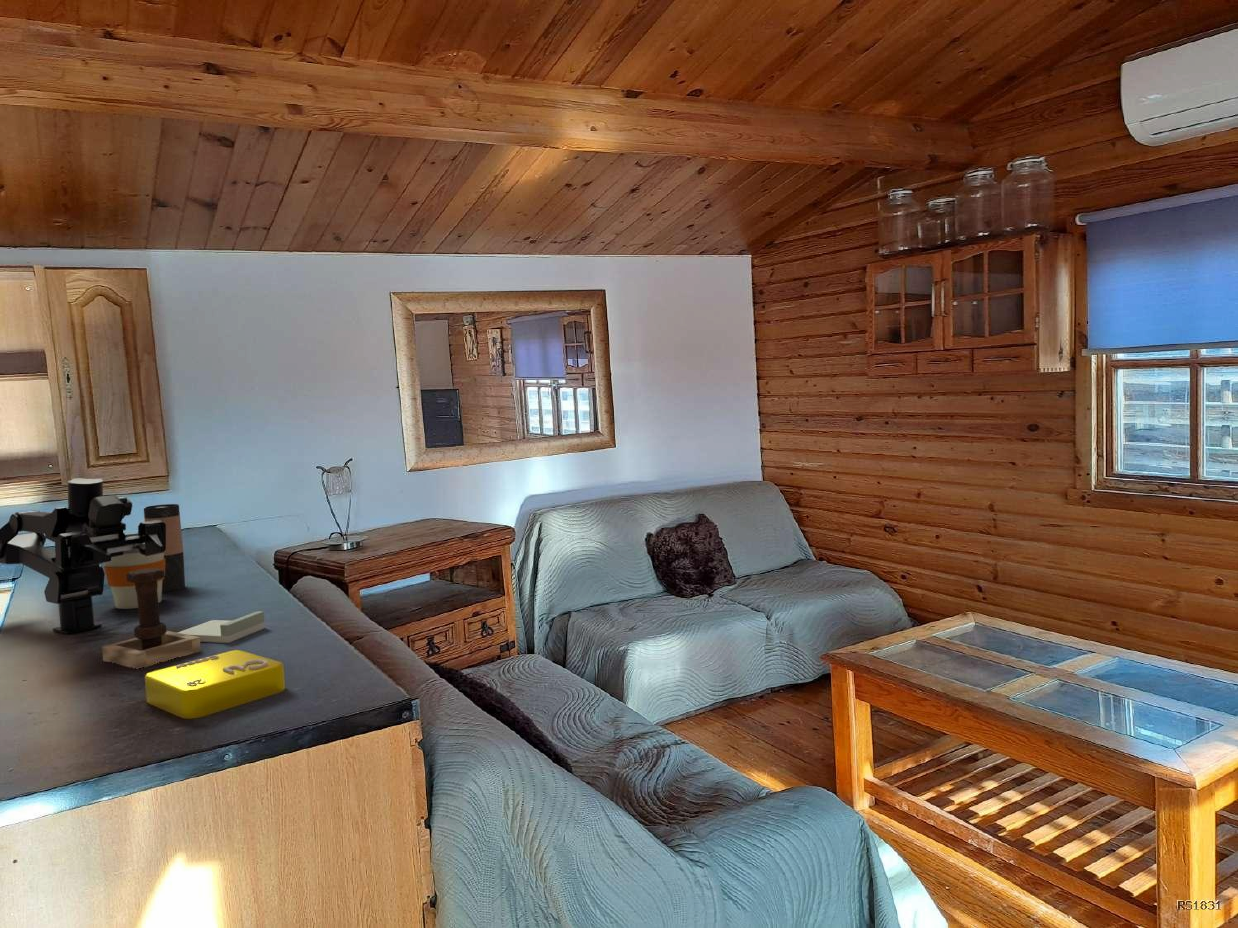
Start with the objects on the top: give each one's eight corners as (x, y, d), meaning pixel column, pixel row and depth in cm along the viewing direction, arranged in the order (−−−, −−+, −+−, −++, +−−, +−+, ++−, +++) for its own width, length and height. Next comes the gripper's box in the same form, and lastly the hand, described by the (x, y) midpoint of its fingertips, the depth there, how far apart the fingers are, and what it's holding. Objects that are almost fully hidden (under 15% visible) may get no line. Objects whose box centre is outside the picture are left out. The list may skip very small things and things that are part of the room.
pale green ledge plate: (173, 640, 160) (172, 623, 160) (212, 625, 170) (211, 609, 170) (228, 642, 157) (227, 625, 157) (265, 627, 167) (263, 611, 166)
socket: (103, 660, 149) (101, 646, 149) (165, 643, 158) (164, 630, 158) (138, 669, 143) (136, 654, 143) (201, 651, 152) (199, 637, 152)
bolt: (153, 661, 147) (145, 573, 146) (127, 660, 148) (119, 574, 147) (177, 651, 153) (169, 567, 152) (152, 650, 154) (144, 567, 153)
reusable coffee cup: (153, 594, 202) (147, 531, 201) (181, 600, 195) (175, 534, 194) (95, 606, 192) (89, 539, 191) (122, 613, 185) (116, 543, 184)
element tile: (240, 674, 139) (238, 645, 139) (290, 691, 130) (288, 660, 129) (141, 702, 128) (138, 670, 127) (189, 723, 118) (186, 689, 118)
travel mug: (193, 586, 210) (186, 504, 209) (165, 593, 203) (157, 508, 202) (171, 584, 213) (164, 503, 212) (143, 591, 206) (135, 508, 205)
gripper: (38, 500, 156) (80, 517, 148) (143, 488, 172) (187, 503, 163) (39, 560, 158) (81, 580, 150) (143, 543, 173) (186, 560, 165)
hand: (136, 553), depth 157 cm, fingers open, 9 cm apart
